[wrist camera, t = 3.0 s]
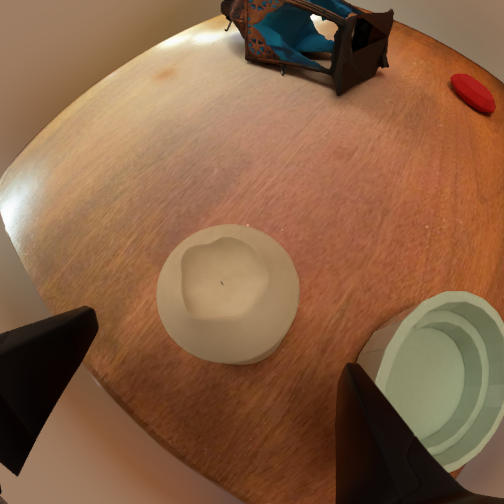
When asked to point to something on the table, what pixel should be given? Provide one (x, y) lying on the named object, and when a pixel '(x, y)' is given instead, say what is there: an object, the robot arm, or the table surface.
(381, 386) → the bowl
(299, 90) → the table surface
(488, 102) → the gemstone
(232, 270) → the candle
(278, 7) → the lantern
